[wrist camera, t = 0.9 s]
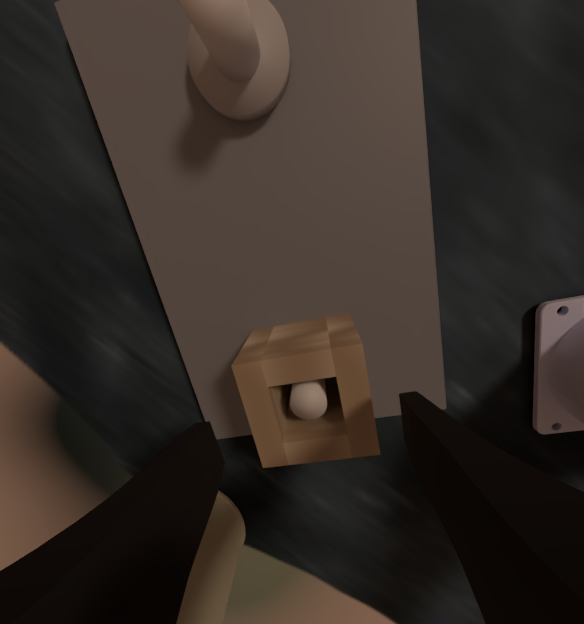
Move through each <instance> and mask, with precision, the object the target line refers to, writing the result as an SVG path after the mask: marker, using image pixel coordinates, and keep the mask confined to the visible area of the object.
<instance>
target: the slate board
mask: <svg viewBox="0 0 584 624" xmlns="http://www.w3.org/2000/svg"><path fill="white" fill-rule="evenodd" d="M55 6H56V9H57V12H58V15H59V17H60V20H61V23H62V26H63V28H64V31H65V34H66V37H67V39H68V42H69V45H70V48H71V51H72V53H73V56H74V59H75V62H76V64H77V67H78V70H79V73H80V75H81V78H82V81H83V84H84V87H85V89H86V92H87V95H88V98H89V100H90V103H91V106H92V109H93V111H94V114H95V117H96V120H97V123H98V125H99V128H100V131H101V134H102V136H103V139H104V142H105V145H106V147H107V150H108V153H109V156H110V159H111V161H112V164H113V167H114V170H115V172H116V175H117V178H118V181H119V183H120V186H121V189H122V192H123V195H124V197H125V200H126V203H127V206H128V208H129V211H130V214H131V217H132V219H133V222H134V225H135V228H136V231H137V233H138V236H139V239H140V242H141V244H142V247H143V250H144V253H145V255H146V258H147V261H148V264H149V267H150V269H151V272H152V275H153V278H154V280H155V283H156V286H157V289H158V291H159V294H160V297H161V300H162V303H163V305H164V308H165V311H166V314H167V316H168V319H169V322H170V325H171V327H172V330H173V333H174V336H175V339H176V341H177V344H178V347H179V350H180V352H181V355H182V358H183V361H184V363H185V366H186V369H187V372H188V375H189V377H190V380H191V383H192V386H193V388H194V391H195V394H196V397H197V399H198V402H199V405H200V408H201V411H202V413H203V416H204V419H205V422H208V421H210V423H211V426H212V429H213V431H214V434H215V437H216V439H223V438H231V437H238V436H246V435H253V434H252V431H251V428H250V425H249V421H248V418H247V415H246V412H245V408H244V405H243V402H242V399H241V396H240V392H239V389H238V386H237V383H236V379H235V376H234V373H233V370H232V367H231V365H232V364H233V362H234V360H235V359H236V357H237V355H238V354H239V352H240V350H241V349H242V347H243V345H244V344H245V342H246V340H247V339H248V337H249V335H250V334H251V332H252V330H257V329H263V328H268V327H273V326H279V325H284V324H289V323H295V322H300V321H306V320H311V319H316V318H322V317H327V316H333V315H338V314H343V313H349V314H350V316H351V318H352V321H353V323H354V325H355V327H356V330H357V332H358V334H359V336H360V339H361V341H362V343H363V349H364V355H365V362H366V368H367V374H368V380H369V387H370V393H371V399H372V405H373V412H374V418H381V417H388V416H396V415H401V407H400V399H399V393H406V392H413V391H417V392H419V393H420V394H421V395H423V396H424V397H425V398H427V399H428V400H429V401H431V402H432V403H433V404H435V405H436V406H437V407H439V408H440V409H447V408H446V395H445V382H444V368H443V355H442V341H441V328H440V314H439V301H438V288H437V274H436V261H435V247H434V234H433V220H432V207H431V194H430V180H429V167H428V153H427V140H426V126H425V113H424V100H423V86H422V73H421V59H420V46H419V32H418V19H417V6H416V0H60V1H57V2H55ZM332 384H338V383H337V378H336V377H330V378H324V379H317V380H311V381H304V382H298V383H291V384H289V388H290V391H291V397H290V407H291V410H292V412H293V413H294V414H295V415H296V416H298V417H299V418H302V419H306V420H313V419H316V418H319V417H320V416H322V415H323V414H324V412H325V411H326V408H327V396H326V385H332Z"/></svg>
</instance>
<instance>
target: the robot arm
mask: <svg viewBox="0 0 584 624" xmlns="http://www.w3.org/2000/svg"><path fill="white" fill-rule="evenodd" d="M560 307H562V309H561V311H560V312H559V313H557V310H558V309H559V308H560ZM399 399H400V407H401V415H402V423H403V431H404V439H405V442H406V445H407V448H408V451H409V453H410V456H411V459H412V461H413V464H414V467H415V469H416V471H417V473H418V475H419V477H420V479H421V482H422V484H423V486H424V488H425V490H426V492H427V494H428V496H429V498H430V500H431V502H432V504H433V506H434V508H435V510H436V512H437V514H438V516H439V518H440V520H441V522H442V524H443V526H444V528H445V530H446V532H447V534H448V536H449V538H450V540H451V542H452V544H453V546H454V548H455V550H456V552H457V555H458V557H459V559H460V561H461V564H462V566H463V569H464V571H465V573H466V576H467V578H468V581H469V583H470V586H471V588H472V591H473V593H474V595H475V598H476V600H477V603H478V605H479V608H480V610H481V613H482V615H483V618H484V620H485V623H486V624H584V492H582V491H580V490H578V489H576V488H574V487H572V486H570V485H568V484H565V483H563V482H561V481H559V480H557V479H555V478H553V477H551V476H549V475H547V474H545V473H543V472H541V471H540V470H538V469H536V468H534V467H532V466H530V465H528V464H527V463H525V462H523V461H521V460H519V459H517V458H516V457H514V456H512V455H510V454H508V453H507V452H505V451H503V450H502V449H500V448H498V447H497V446H495V445H493V444H492V443H490V442H489V441H487V440H485V439H484V438H482V437H480V436H479V435H477V434H476V433H474V432H473V431H471V430H470V429H468V428H467V427H465V426H464V425H462V424H461V423H460V422H458V421H457V420H455V419H454V418H452V417H451V416H450V415H448V414H447V413H445V412H444V411H443V410H441V409H440V408H439V407H437V406H436V405H435V404H433V403H432V402H431V401H429V400H428V399H427V398H425V397H424V396H423V395H421V394H420V393H419V392H417V391H413V392H406V393H399ZM554 423H555V424H554ZM553 424H554V425H553ZM533 428H534V429H535V430H536V431H537V432H539V433H540V434H554V433H562V432H571V431H579V430H584V295H582V296H576V297H570V298H564V299H559V300H553V301H547V302H544V303H542V304H540V305H539V306H538V308H537V309H536V316H535V354H534V392H533ZM224 464H225V462H224V459H223V457H222V454H221V451H220V448H219V445H218V443H217V440H216V437H215V434H214V431H213V429H212V426H211V423H210V421H208V422H201V423H195V424H194V425H193V426H191V427H190V428H189V429H188V430H186V431H185V432H184V433H183V434H182V435H181V436H180V437H178V438H177V439H176V440H175V441H174V442H173V443H172V444H171V445H169V446H168V447H167V448H166V449H165V450H164V451H163V452H162V453H161V454H159V455H158V456H157V457H156V458H155V459H154V460H153V461H152V462H151V463H149V464H148V465H147V466H146V467H145V468H144V469H142V470H141V471H140V472H139V473H138V474H136V475H135V476H134V477H133V478H132V479H131V480H129V481H128V482H127V483H126V484H125V485H124V486H122V487H121V488H120V489H119V490H118V491H116V492H115V493H114V494H112V495H111V496H110V497H109V498H108V499H106V500H105V501H104V502H102V503H101V504H100V505H98V506H97V507H96V508H94V509H93V510H92V511H90V512H89V513H87V514H86V515H85V516H84V517H82V518H81V519H79V520H78V521H77V522H75V523H74V524H72V525H71V526H69V527H68V528H66V529H65V530H63V531H62V532H60V533H59V534H57V535H56V536H54V537H53V538H51V539H50V540H48V541H47V542H46V543H44V544H43V545H41V546H40V547H38V548H37V549H35V550H34V551H32V552H30V553H29V554H27V555H26V556H24V557H22V558H21V559H19V560H18V561H16V562H14V563H13V564H11V565H10V566H8V567H6V568H5V569H3V570H1V571H0V624H176V623H177V619H178V615H179V612H180V608H181V604H182V600H183V597H184V593H185V589H186V585H187V582H188V578H189V575H190V572H191V569H192V566H193V563H194V560H195V557H196V554H197V551H198V548H199V546H200V543H201V540H202V537H203V534H204V531H205V529H206V526H207V523H208V520H209V517H210V515H211V512H212V509H213V506H214V503H215V500H216V497H217V494H218V491H219V487H220V483H221V479H222V474H223V469H224Z"/></svg>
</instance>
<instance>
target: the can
mask: <svg viewBox="0 0 584 624" xmlns="http://www.w3.org/2000/svg"><path fill="white" fill-rule="evenodd" d="M244 540H245V524H244V520H243V517H242V515H241V513H240V511H239V509H238V508H237V507H236V505H235V504H234V503H233V502H232V501H231V500H230V499H229V498H228V497H227V496H226V495H225V494H223V493H222V492H221V491H218V494H217V497H216V500H215V503H214V506H213V509H212V512H211V515H210V517H209V520H208V523H207V526H206V529H205V531H204V534H203V537H202V540H201V543H200V546H199V548H198V551H197V554H196V557H195V560H194V563H193V566H192V569H191V572H190V575H189V578H188V582H187V585H186V589H185V593H184V597H183V600H182V604H181V608H180V612H179V615H178V619H177V623H176V624H223V620H224V616H225V612H226V607H227V603H228V599H229V594H230V590H231V586H232V582H233V577H234V573H235V569H236V565H237V561H238V557H239V554H240V550H241V548H242V546H243V543H244Z"/></svg>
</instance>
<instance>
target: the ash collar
mask: <svg viewBox="0 0 584 624" xmlns="http://www.w3.org/2000/svg"><path fill="white" fill-rule="evenodd" d="M231 367H232V370H233V373H234V376H235V379H236V383H237V386H238V389H239V392H240V396H241V399H242V402H243V405H244V408H245V412H246V415H247V418H248V421H249V425H250V428H251V431H252V434H253V437H254V441H255V444H256V447H257V450H258V454H259V457H260V460H261V463H262V467H263V468H268V467H277V466H285V465H294V464H303V463H311V462H320V461H329V460H337V459H346V458H355V457H363V456H372V455H380V449H379V443H378V437H377V430H376V424H375V418H374V412H373V405H372V399H371V393H370V387H369V380H368V374H367V368H366V362H365V355H364V349H363V343H362V341H361V339H360V336H359V334H358V332H357V330H356V327H355V325H354V323H353V321H352V318H351V316H350V314H349V313H343V314H338V315H333V316H327V317H322V318H316V319H311V320H306V321H300V322H295V323H289V324H284V325H279V326H273V327H268V328H263V329H257V330H252V332H251V334H250V335H249V337H248V339H247V340H246V342H245V344H244V345H243V347H242V349H241V350H240V352H239V354H238V355H237V357H236V359H235V360H234V362H233V364H232V365H231ZM330 377H336V378H337V383H338V384H332V385H326V396H327V408H326V411H325V412H324V414H323V415H322V416H320V417H319V418H316V419H313V420H306V419H302V418H299V417H298V416H296V415H295V414H294V413H293V412H292V410H291V407H290V397H291V391H290V388H289V384H291V383H298V382H304V381H311V380H317V379H324V378H330Z"/></svg>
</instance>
